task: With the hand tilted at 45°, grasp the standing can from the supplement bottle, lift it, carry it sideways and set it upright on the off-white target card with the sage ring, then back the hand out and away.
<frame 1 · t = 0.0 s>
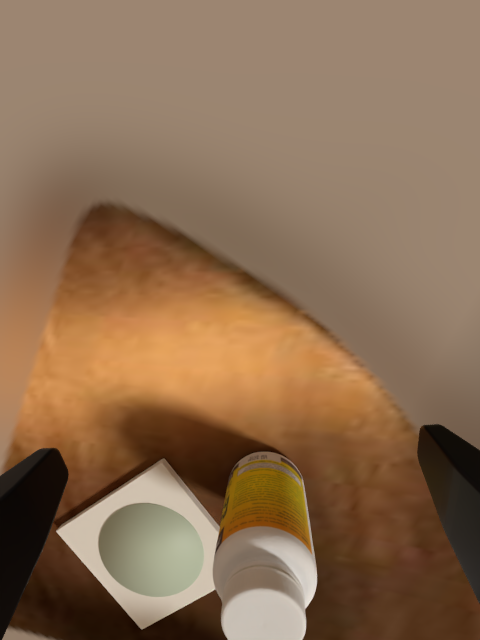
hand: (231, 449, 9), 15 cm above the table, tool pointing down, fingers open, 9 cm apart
supplement bottle: (265, 480, 26), on the table
target card: (153, 544, 28), on the table
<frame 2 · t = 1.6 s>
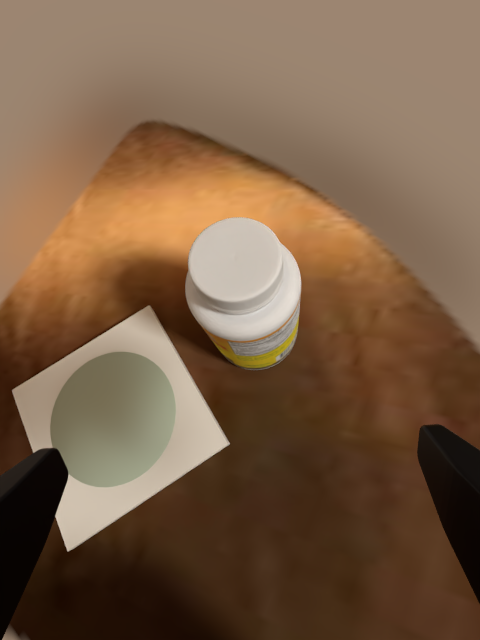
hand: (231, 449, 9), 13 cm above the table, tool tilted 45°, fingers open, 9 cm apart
supplement bottle: (256, 333, 24), on the table
target card: (116, 416, 23), on the table
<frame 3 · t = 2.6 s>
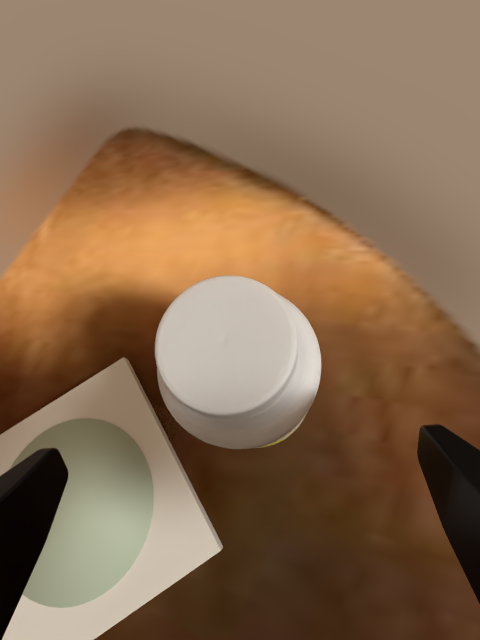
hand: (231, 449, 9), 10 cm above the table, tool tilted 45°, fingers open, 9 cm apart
supplement bottle: (257, 394, 19), on the table
target card: (80, 503, 18), on the table
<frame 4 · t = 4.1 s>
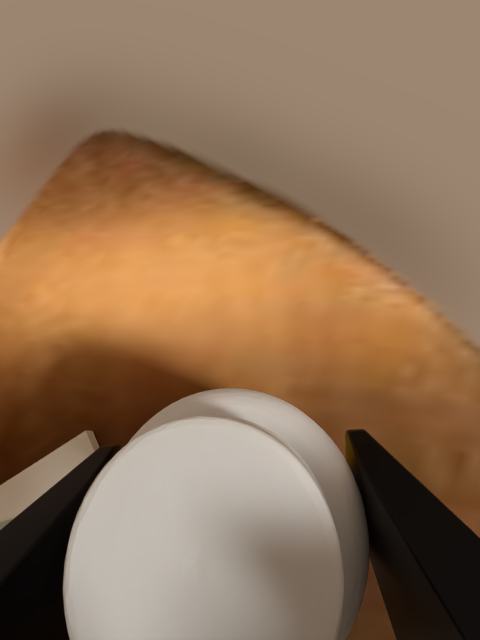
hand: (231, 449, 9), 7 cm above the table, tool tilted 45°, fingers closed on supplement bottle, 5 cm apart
supplement bottle: (258, 484, 14), on the table, touching gripper
target card: (22, 635, 13), on the table
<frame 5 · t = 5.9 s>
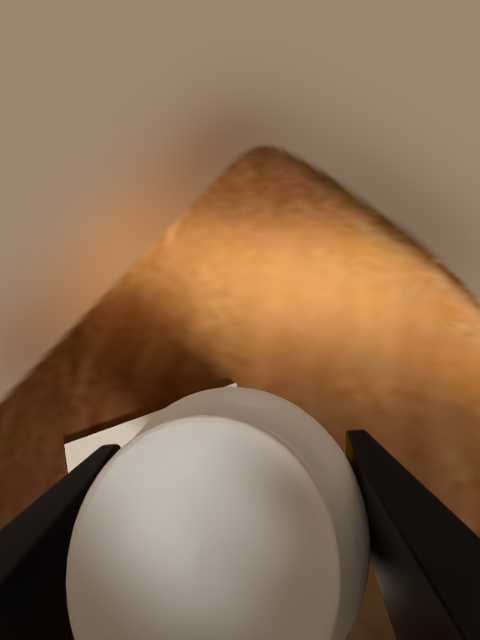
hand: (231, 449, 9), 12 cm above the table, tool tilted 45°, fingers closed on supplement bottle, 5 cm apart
supplement bottle: (263, 482, 14), point 5 cm above the table, touching gripper
target card: (175, 509, 19), on the table
when the fingers open (8 cm above the table, at t = 7.7 s): supplement bottle stays where it is, resting on target card.
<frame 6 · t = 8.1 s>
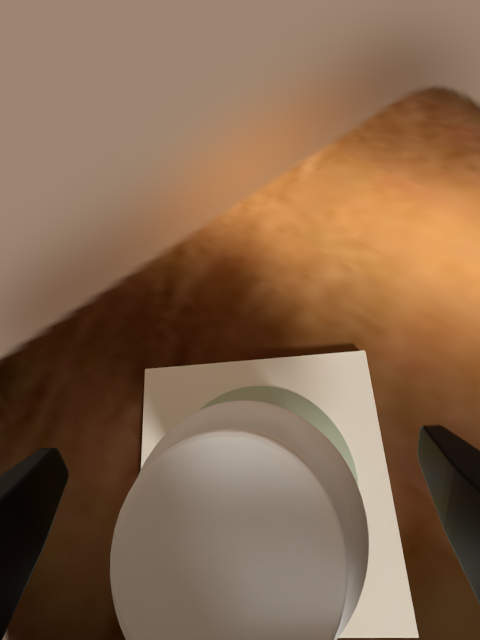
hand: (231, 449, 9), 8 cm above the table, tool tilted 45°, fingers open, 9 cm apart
supplement bottle: (264, 485, 15), point 1 cm above the table, touching target card
target card: (260, 480, 16), on the table
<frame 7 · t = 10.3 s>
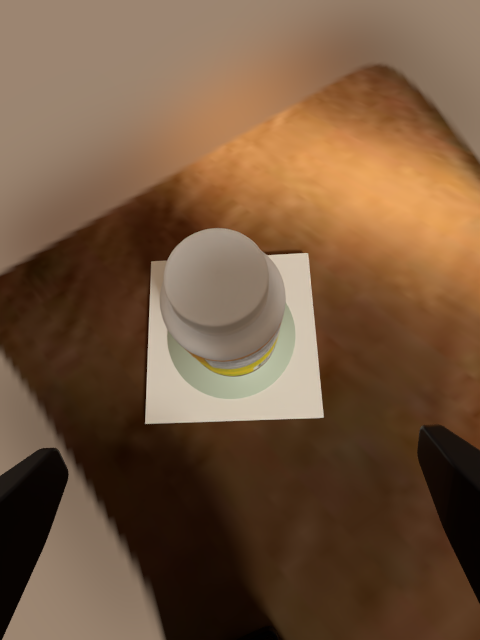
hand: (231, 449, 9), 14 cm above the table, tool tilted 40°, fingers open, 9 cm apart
supplement bottle: (234, 336, 23), point 1 cm above the table, touching target card
target card: (231, 335, 23), on the table
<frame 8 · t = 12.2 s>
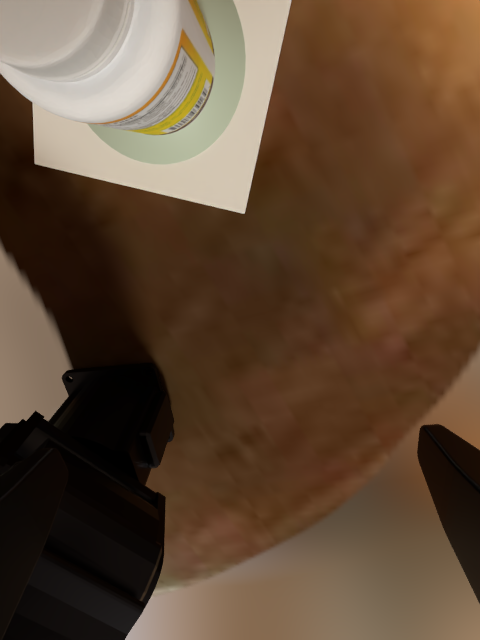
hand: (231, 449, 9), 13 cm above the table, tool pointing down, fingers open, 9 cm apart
supplement bottle: (157, 68, 16), point 1 cm above the table, touching target card
target card: (156, 65, 16), on the table
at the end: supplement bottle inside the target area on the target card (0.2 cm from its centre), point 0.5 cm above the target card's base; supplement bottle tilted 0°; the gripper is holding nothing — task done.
